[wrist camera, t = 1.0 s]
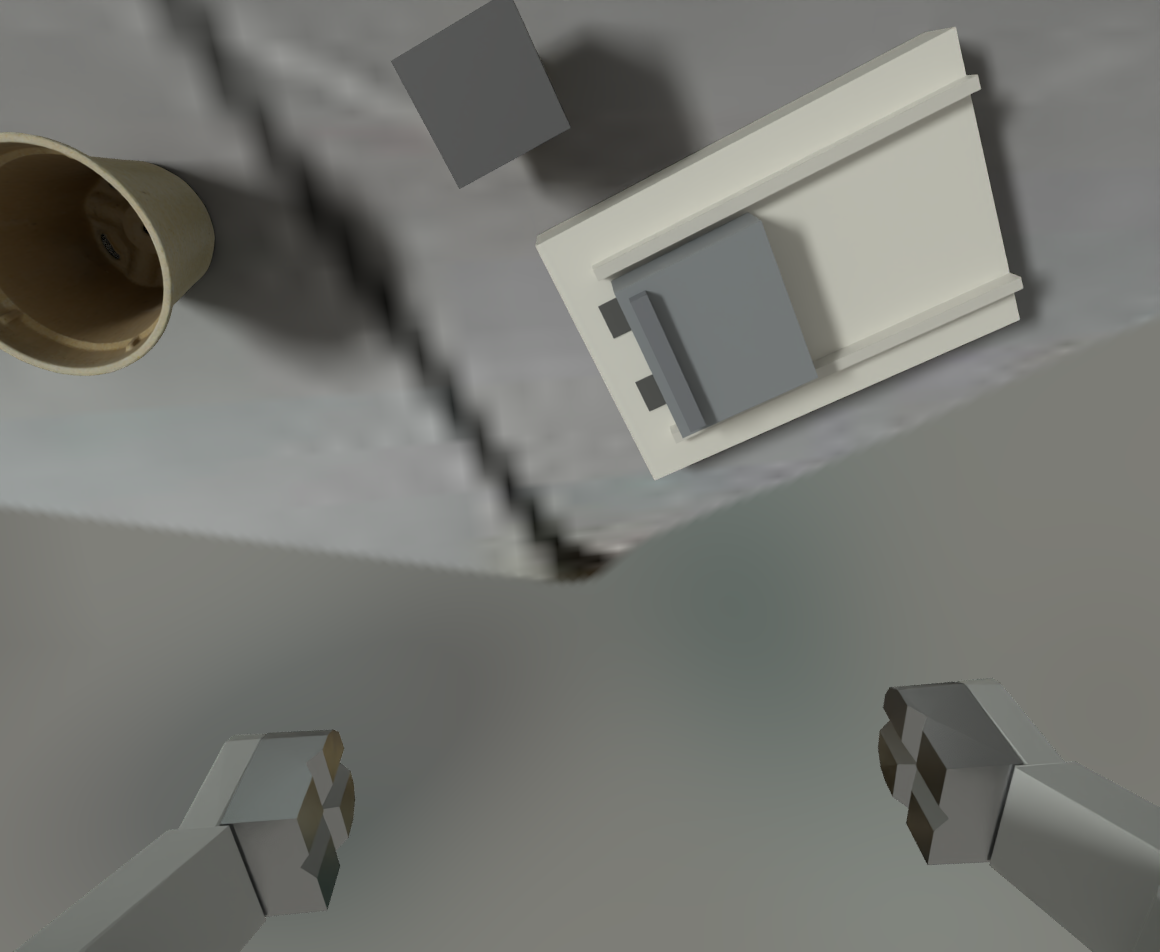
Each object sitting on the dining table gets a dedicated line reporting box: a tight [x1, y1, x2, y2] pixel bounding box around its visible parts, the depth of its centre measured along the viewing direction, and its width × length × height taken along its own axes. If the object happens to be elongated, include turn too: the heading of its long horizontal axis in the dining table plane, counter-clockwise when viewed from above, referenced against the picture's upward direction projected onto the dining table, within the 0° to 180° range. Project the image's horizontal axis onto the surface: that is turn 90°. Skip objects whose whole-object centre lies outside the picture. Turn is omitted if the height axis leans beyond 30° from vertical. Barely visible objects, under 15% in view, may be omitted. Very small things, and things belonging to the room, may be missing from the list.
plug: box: [391, 0, 571, 189], centre depth 31 cm, size 5×5×7 cm
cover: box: [611, 212, 818, 438], centre depth 35 cm, size 7×8×3 cm
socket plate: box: [536, 27, 1023, 480], centre depth 37 cm, size 20×14×4 cm
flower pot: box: [0, 132, 215, 376], centre depth 33 cm, size 9×9×9 cm
